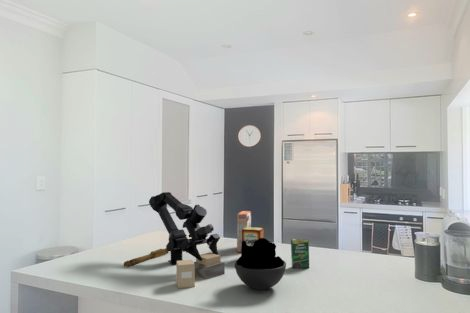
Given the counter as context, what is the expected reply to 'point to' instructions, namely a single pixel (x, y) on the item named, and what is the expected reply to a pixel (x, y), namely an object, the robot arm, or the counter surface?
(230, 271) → the counter surface
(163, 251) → the tap handle
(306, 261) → the coffee box
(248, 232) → the baking soda box
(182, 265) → the box
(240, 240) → the cracker box
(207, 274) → the block
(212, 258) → the box lid
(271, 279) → the coal bowl
